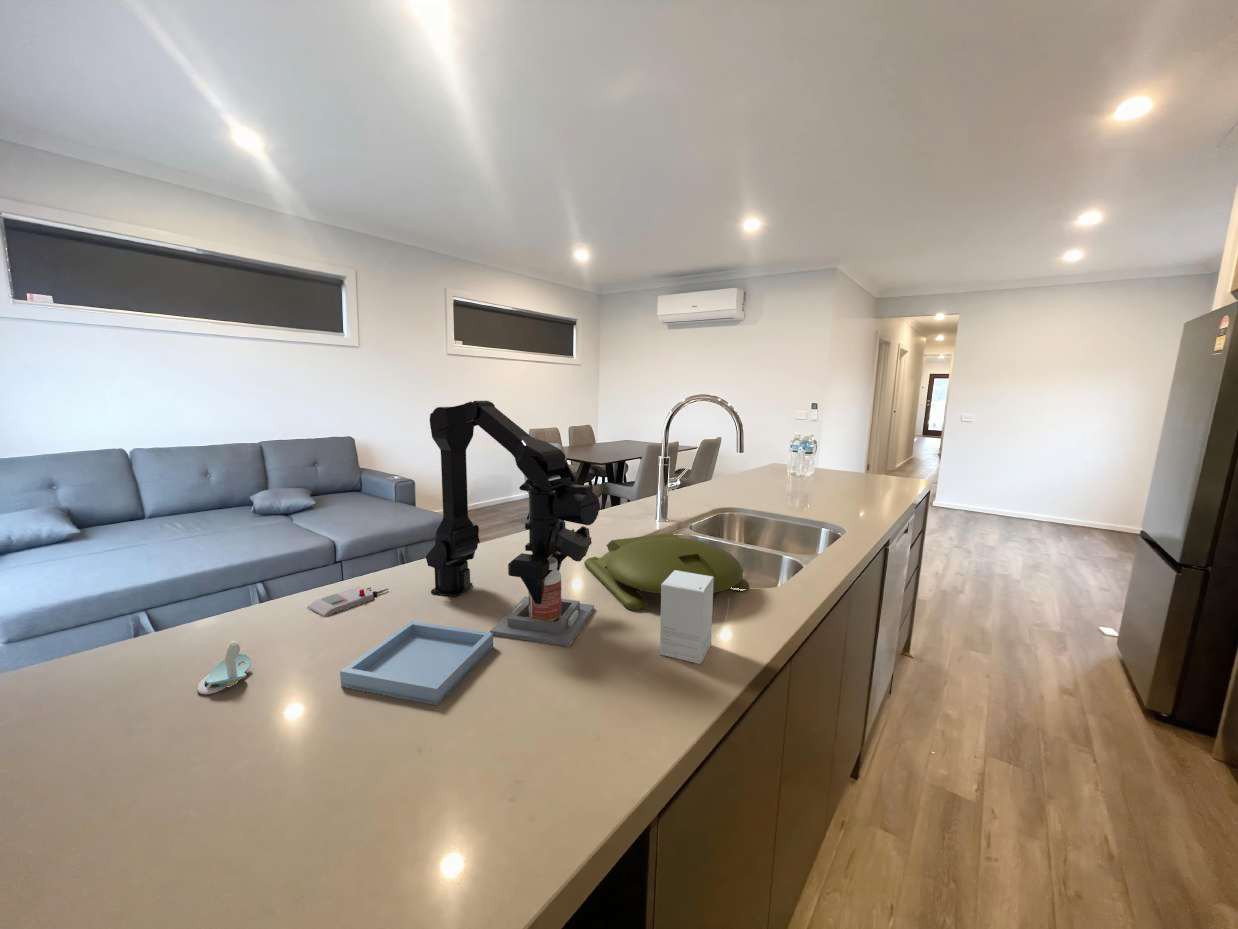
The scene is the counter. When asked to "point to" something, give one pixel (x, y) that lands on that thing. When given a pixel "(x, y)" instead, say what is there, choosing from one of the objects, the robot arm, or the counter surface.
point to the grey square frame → (544, 623)
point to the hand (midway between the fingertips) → (545, 596)
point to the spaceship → (661, 566)
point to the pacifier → (226, 670)
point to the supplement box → (686, 616)
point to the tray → (418, 662)
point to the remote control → (342, 600)
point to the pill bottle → (548, 596)
